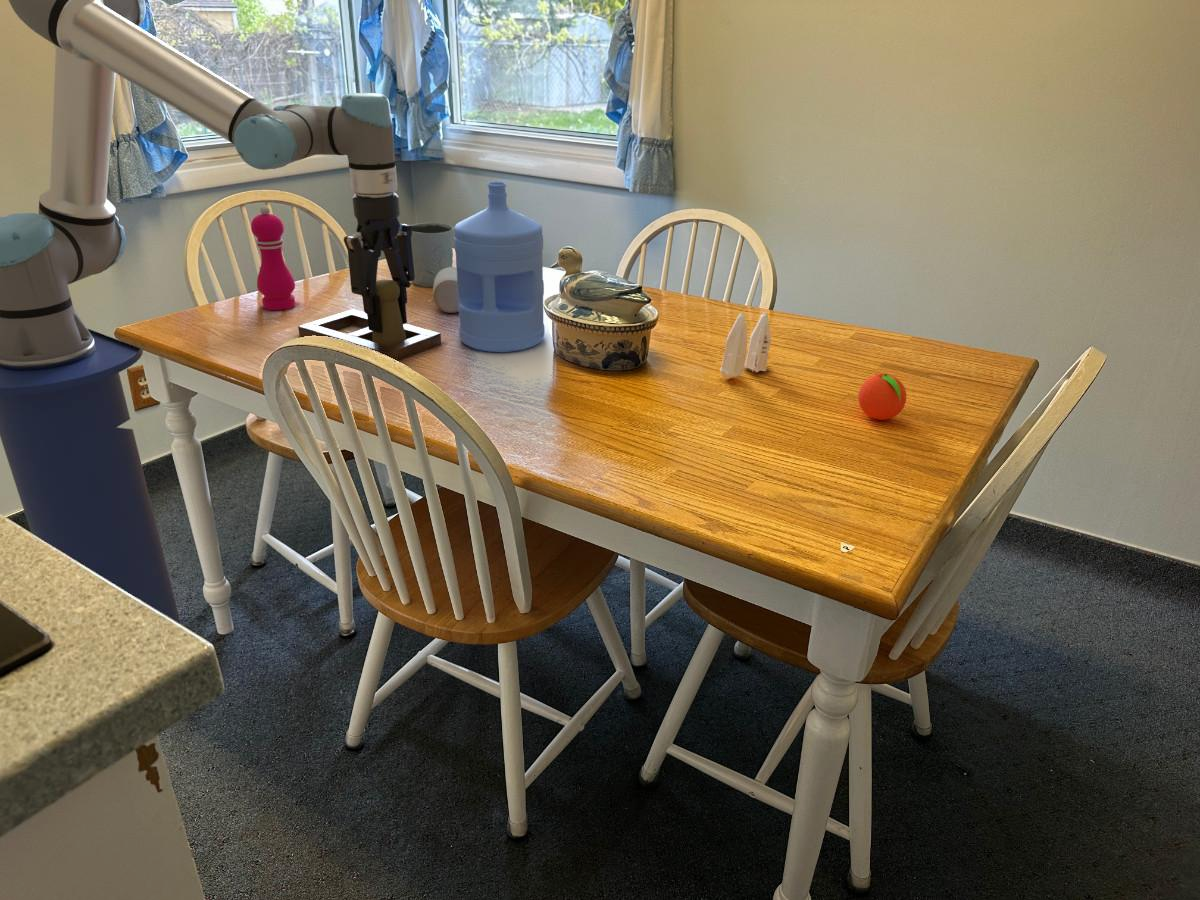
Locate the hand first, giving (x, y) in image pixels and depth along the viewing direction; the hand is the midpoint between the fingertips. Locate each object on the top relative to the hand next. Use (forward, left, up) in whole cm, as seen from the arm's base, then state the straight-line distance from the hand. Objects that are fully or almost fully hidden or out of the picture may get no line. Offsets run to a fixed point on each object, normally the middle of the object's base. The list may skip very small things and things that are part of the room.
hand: (388, 326), depth 157 cm
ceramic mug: (-5, +24, -4) cm, 25 cm away
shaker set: (+58, +26, -4) cm, 63 cm away
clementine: (+83, +22, -4) cm, 86 cm away
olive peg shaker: (0, 0, -3) cm, 3 cm away
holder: (-5, 0, -4) cm, 6 cm away
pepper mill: (-35, +3, -4) cm, 36 cm away
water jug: (+14, +15, -4) cm, 21 cm away
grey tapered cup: (-23, +35, -4) cm, 42 cm away
